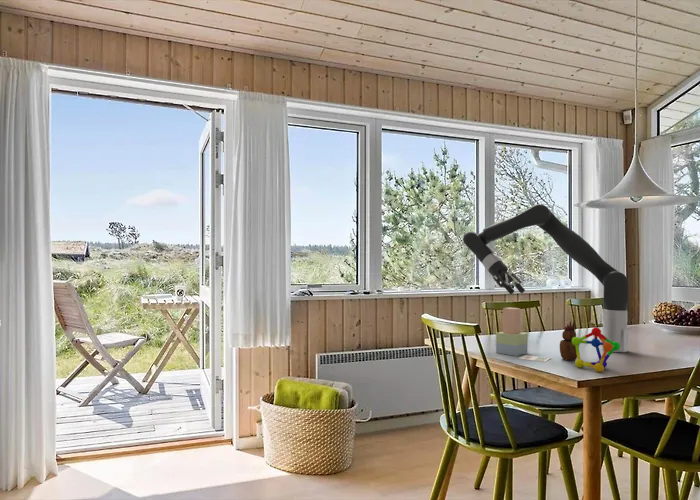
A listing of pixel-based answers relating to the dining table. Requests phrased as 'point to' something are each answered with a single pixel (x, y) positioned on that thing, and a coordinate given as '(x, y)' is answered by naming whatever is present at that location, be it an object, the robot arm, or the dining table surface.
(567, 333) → the wooden figurine
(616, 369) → the dining table surface
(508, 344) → the pedestal
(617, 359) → the dining table surface
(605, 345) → the educational toy
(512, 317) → the brick
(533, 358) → the page
